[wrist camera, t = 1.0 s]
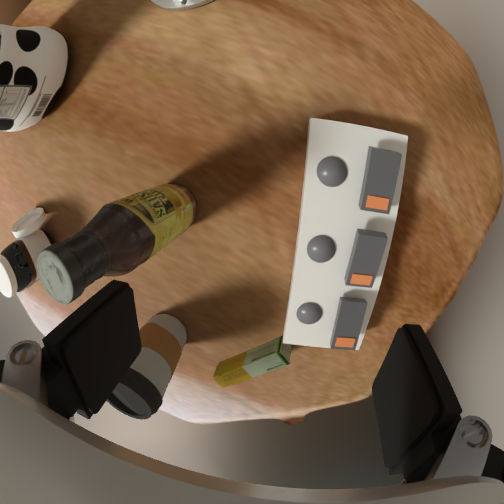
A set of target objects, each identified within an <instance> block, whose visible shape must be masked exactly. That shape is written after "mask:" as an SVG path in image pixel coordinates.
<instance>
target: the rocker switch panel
mask: <svg viewBox="0 0 504 504" xmlns="http://www.w3.org/2000/svg"><path fill="white" fill-rule="evenodd" d="M407 142H408V136H406V135H402V134H398V133H394V132H390V131H385V130H381V129H376V128H371V127H366V126H361V125H356V124H350V123H344V122H338V121H332V120H325V119H317V118H310V120H309V126H308V139H307V150H306V161H305V172H304V182H303V191H302V200H301V209H300V218H299V226H298V235H297V242H296V250H295V258H294V265H293V272H292V279H291V286H290V293H289V300H288V306H287V313H286V319H285V325H284V334H283V343H285V344H294V345H303V346H313V347H325V348H331V347H330V340H331V336H332V331H333V327H334V323H335V318H336V314H337V309H338V304H339V299H340V297H348V298H358V299H365V300H366V301H367V303H368V304H367V308H366V312H365V316H364V320H363V324H362V328H361V331H360V335H359V339H358V342H357V346H356V349H355V350H359V348H360V345H361V342H362V340H363V337H364V334H365V331H366V328H367V325H368V323H369V320H370V317H371V313H372V310H373V307H374V304H375V301H376V298H377V294H378V291H379V287H380V284H381V280H382V277H383V273H384V269H385V266H386V262H387V258H388V254H389V250H390V245H391V241H392V237H393V232H394V227H395V222H396V217H397V212H398V207H399V201H400V195H401V189H402V183H403V176H404V169H405V161H406V152H407ZM369 146H372V147H377V148H382V149H387V150H391V151H396V152H399V153H400V154H402V158H401V163H400V169H399V174H398V178H397V183H396V188H395V192H394V197H393V201H392V205H391V209H390V213H389V214H383V213H377V212H371V211H365V210H360V208H359V205H358V204H359V199H360V194H361V189H362V183H363V178H364V172H365V166H366V160H367V154H368V147H369ZM357 229H365V230H371V231H378V232H385V233H386V235H387V237H388V241H387V244H386V247H385V250H384V254H383V257H382V260H381V263H380V266H379V269H378V272H377V275H376V278H375V281H374V284H373V287H372V288H367V287H357V286H348V285H345V279H344V278H345V274H346V270H347V267H348V263H349V259H350V255H351V251H352V247H353V243H354V239H355V235H356V231H357Z"/></svg>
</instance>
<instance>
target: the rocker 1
mask: <svg viewBox="0 0 504 504" xmlns="http://www.w3.org/2000/svg"><path fill="white" fill-rule="evenodd" d="M367 304H368V303H367V301H366V300H365V299H358V298H348V297H340V299H339V304H338V309H337V314H336V318H335V323H334V327H333V331H332V336H331V340H330V347H331V349H345V350H355V349H356V346H357V342H358V339H359V335H360V331H361V328H362V324H363V320H364V316H365V312H366V308H367Z"/></svg>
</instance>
